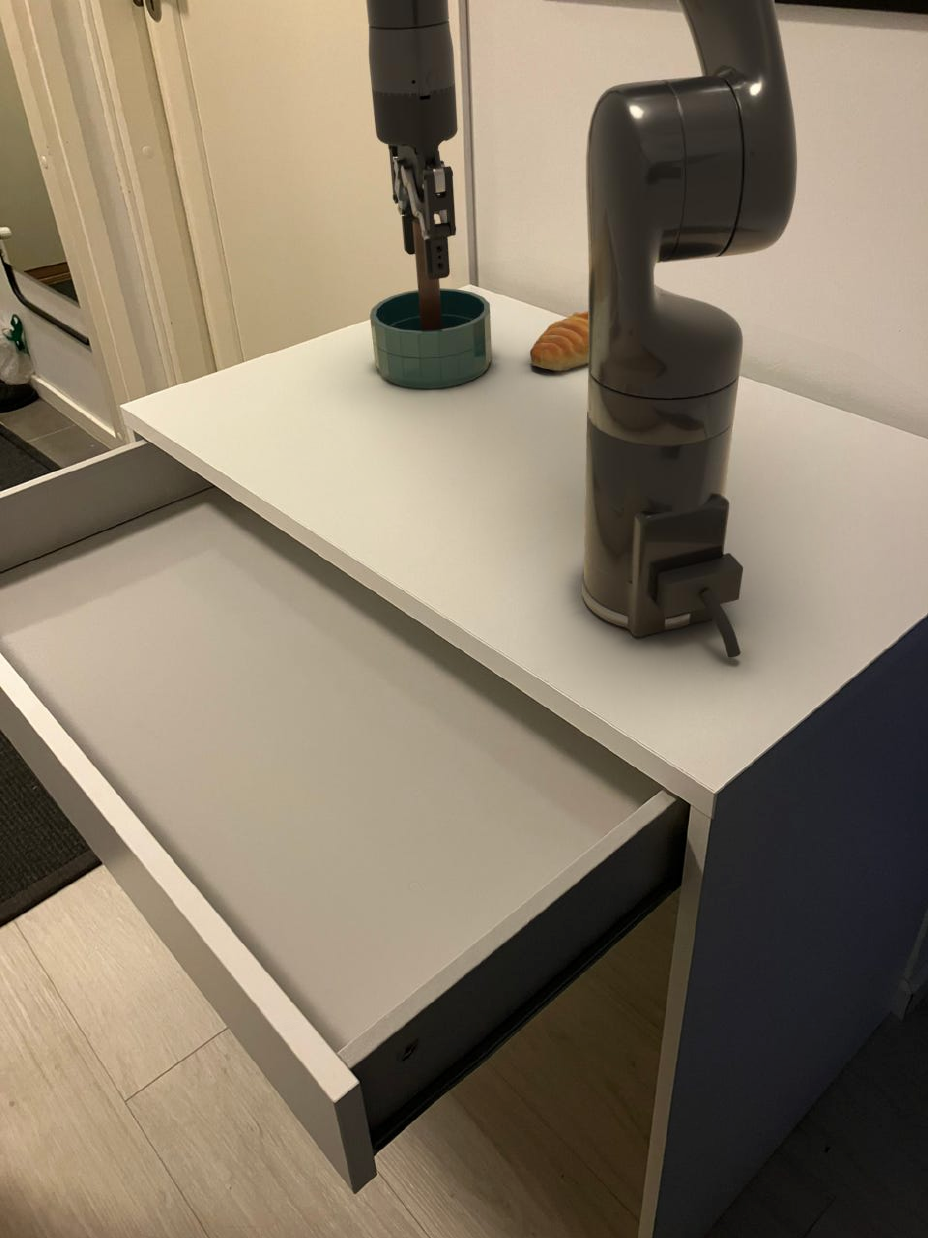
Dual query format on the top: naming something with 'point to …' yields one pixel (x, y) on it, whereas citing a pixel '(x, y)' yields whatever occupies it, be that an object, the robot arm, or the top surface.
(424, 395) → the top surface
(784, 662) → the top surface
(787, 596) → the top surface
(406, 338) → the bowl
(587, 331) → the pastry
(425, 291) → the stick
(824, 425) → the top surface
